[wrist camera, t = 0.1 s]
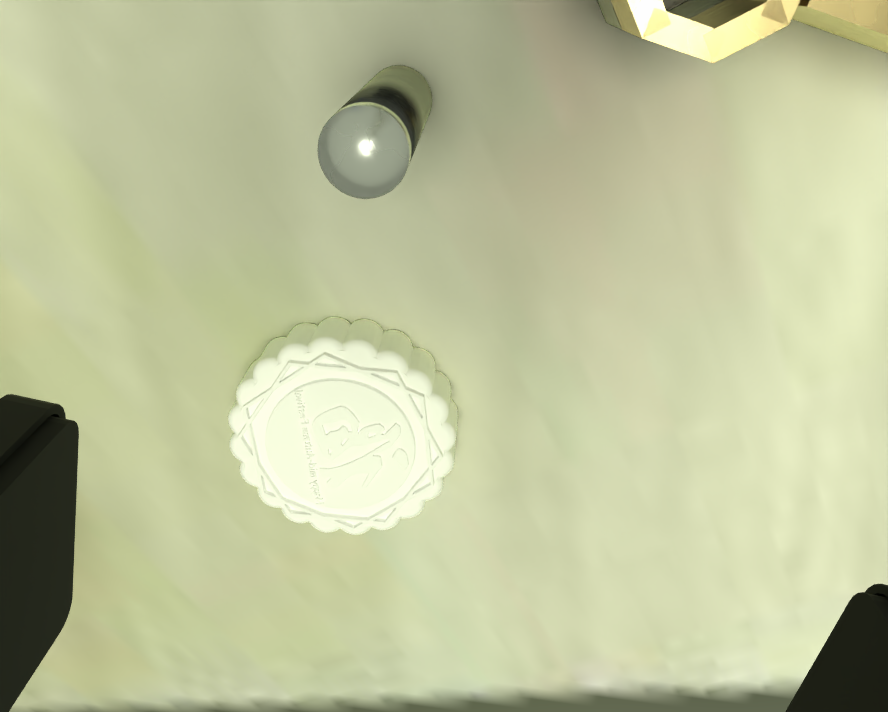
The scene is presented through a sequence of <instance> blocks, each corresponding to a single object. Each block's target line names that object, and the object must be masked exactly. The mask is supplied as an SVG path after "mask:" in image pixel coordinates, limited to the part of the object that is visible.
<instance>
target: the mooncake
mask: <svg viewBox="0 0 888 712" xmlns="http://www.w3.org/2000/svg"><path fill="white" fill-rule="evenodd" d="M450 395H451V385H450V382H449V380H448V378H447V377H446V376H445V375H444V374H443V373H441V372H439V371H435V361H434V358H433V357H432V355H431V354H430V353H429V352H428V351H426V350H424V349H422V348H416V347H414V348H413V346H412V342H411V340H410V339H409V337H408V336H407V335H406V334H404V333H403V332H401V331H398V330H387V331H383V329H382V328H381V326H380V325H379V324H377V323H376V322H374V321H372V320H369V319H360V320H357V321H355V322H353V323H352V324H350V323H349V322H348V321H347V320H345V319H343V318H340V317H329V318H326V319H324V320H323V321H322V322H320V324H319V325H318V326H317V325H315V324H311V323H302V324H299V325H297V326H295V327H294V328H293V329H292V330H291V331H290V333H289V335H288V337H278V338H275V339H273V340H271V341H270V342H269V343H268V345H267V346H266V348H265V350H264V351H263V353H262V355H261V356H260V358H258V359H257V360H255V361H254V362H253V363H252V364H251V365H250V367H249V369H248V370H247V372H246V374H245V376H244V377H243V379H242V381H241V382H240V384H239V386H238V388H237V390H236V399H237V400H236V401H235V403H234V405H233V407H232V408H231V410H230V412H229V415H228V422H229V426H230V428H231V429H232V431H233V432H234V433H233V435H232V437H231V439H230V450H231V452H232V454H233V455H234V457H236V458H237V459H238V460H239V461H241V464H240V473H241V476H242V478H243V479H244V480H245V481H246V482H247V483H248V484H250V485H252V486H255V487H258V488H257V490H258V495H259V497H260V499H261V500H262V501H263V502H264V503H265V504H266V505H268V506H271V507H274V508H281V510H282V512H283V514H284V515H285V517H286V518H288V519H289V520H291V521H293V522H296V523H307V522H310V524H311V525H312V526H313V527H314V528H315V529H317V530H319V531H321V532H334V531H337V530H339V529H342V530H343V531H344V532H346V533H348V534H352V535H360V534H363V533H365V532H367V531H368V530H369V529H370V528H371V527H372V528H375V529H378V530H387V529H391V528H393V527H394V526H395V525H397V523H398V522H399V520H400V518H413V517H415V516H417V515H418V514H420V513H421V511H422V510H423V508H424V505H425V501H428V500H432V499H434V498H436V497H437V496H438V495H439V494H440V493H441V491H442V488H443V482H444V476H446V475H447V474H449V473H450V472H451V470H452V468H453V466H454V458H455V442H456V435H457V419H458V410H457V407H456V405H455V403H454V402H453V401H452V400H451V399H450Z"/></svg>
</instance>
